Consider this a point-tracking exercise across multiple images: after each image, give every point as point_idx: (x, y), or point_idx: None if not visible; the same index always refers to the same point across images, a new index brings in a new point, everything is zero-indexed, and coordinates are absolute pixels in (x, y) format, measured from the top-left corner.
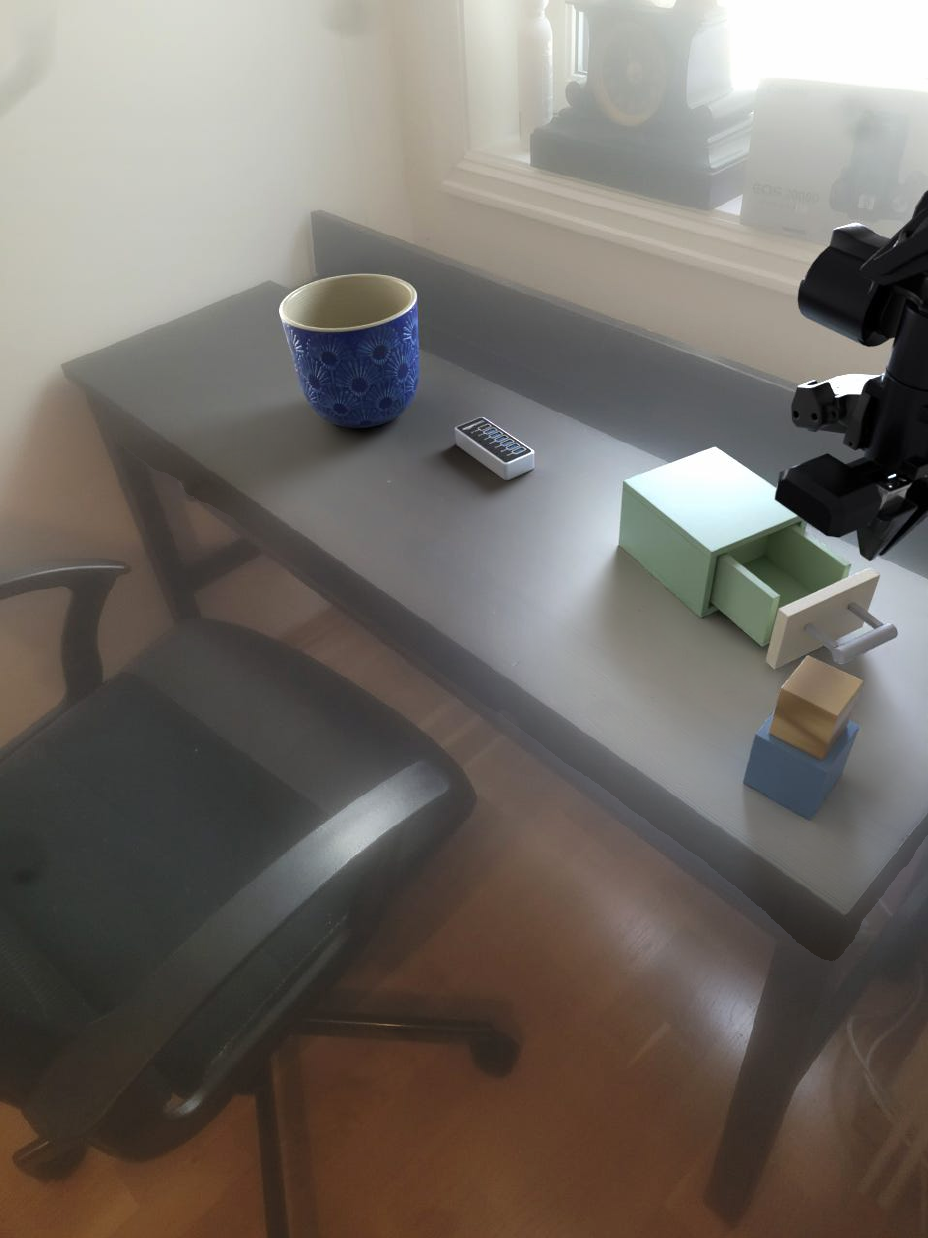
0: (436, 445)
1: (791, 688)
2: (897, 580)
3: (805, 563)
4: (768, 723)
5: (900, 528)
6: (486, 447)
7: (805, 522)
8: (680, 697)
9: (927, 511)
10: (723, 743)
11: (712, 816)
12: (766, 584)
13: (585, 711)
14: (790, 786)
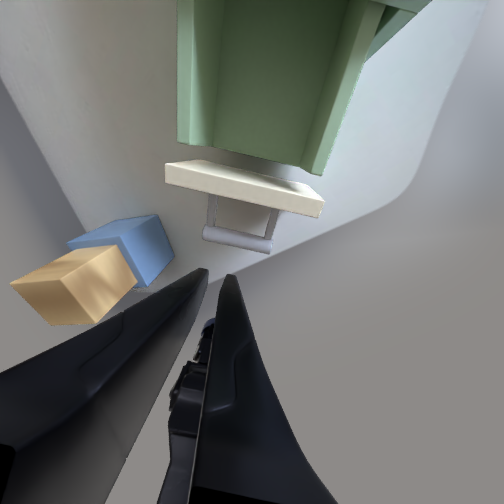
0: None
1: (19, 290)
2: (406, 176)
3: (325, 98)
4: (81, 243)
5: (207, 370)
6: None
7: (405, 18)
8: (113, 126)
9: (196, 489)
10: (121, 189)
11: (83, 222)
12: (286, 68)
13: (12, 62)
14: None
